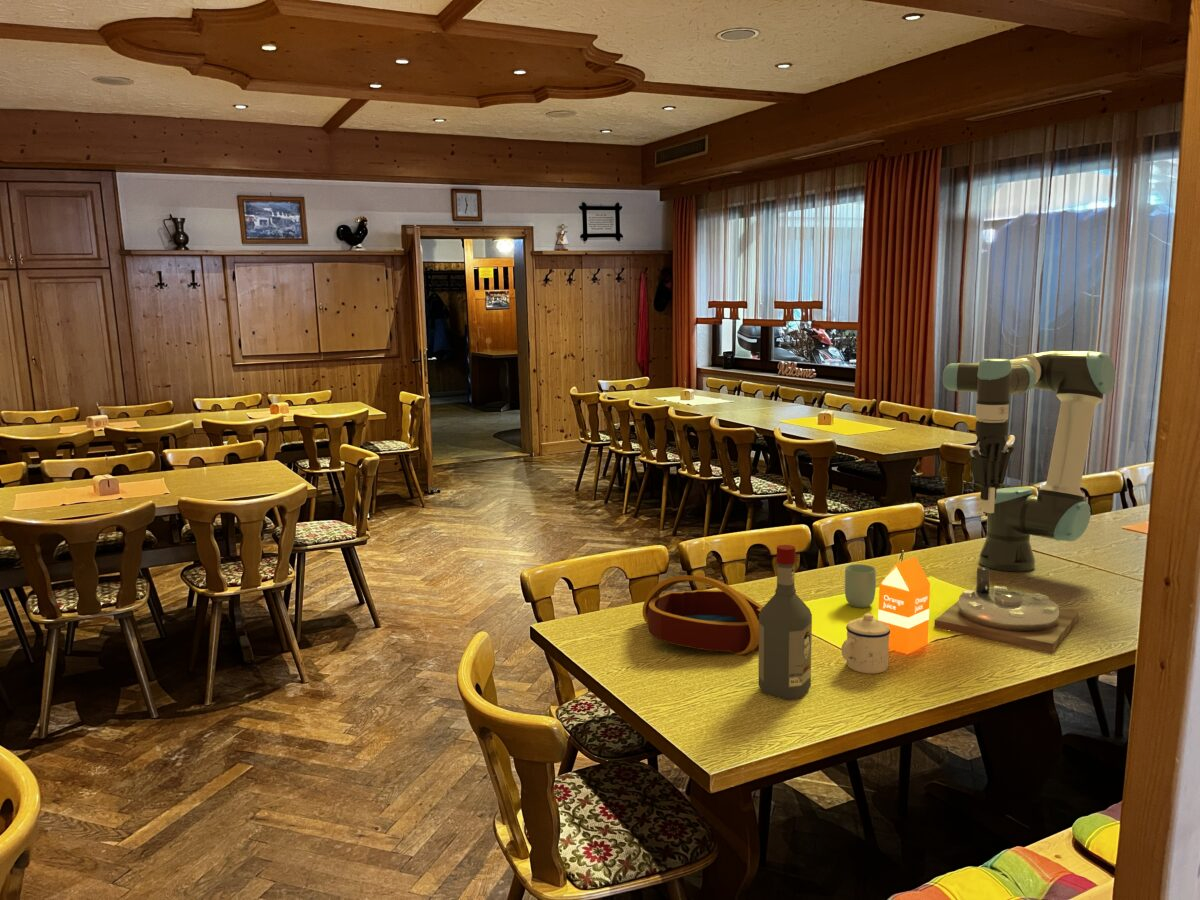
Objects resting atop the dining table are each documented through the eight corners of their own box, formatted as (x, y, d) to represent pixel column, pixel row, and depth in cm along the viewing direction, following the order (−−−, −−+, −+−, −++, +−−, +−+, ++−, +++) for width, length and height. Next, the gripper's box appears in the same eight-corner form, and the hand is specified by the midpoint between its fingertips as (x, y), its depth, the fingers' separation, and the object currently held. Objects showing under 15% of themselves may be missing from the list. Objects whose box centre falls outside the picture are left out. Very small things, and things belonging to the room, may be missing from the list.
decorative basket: (794, 651, 204) (800, 587, 203) (710, 667, 185) (717, 597, 184) (689, 617, 229) (694, 561, 229) (606, 628, 210) (612, 567, 210)
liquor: (754, 693, 176) (755, 549, 171) (772, 677, 184) (773, 539, 179) (797, 703, 171) (799, 555, 166) (814, 686, 178) (816, 544, 174)
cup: (841, 607, 225) (842, 570, 224) (847, 599, 232) (848, 562, 231) (872, 612, 222) (873, 574, 220) (877, 602, 228) (878, 566, 227)
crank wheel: (1080, 624, 203) (1082, 587, 202) (1001, 635, 198) (1003, 597, 196) (1012, 596, 224) (1014, 562, 223) (939, 605, 219) (940, 570, 217)
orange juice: (877, 644, 200) (879, 560, 197) (898, 635, 205) (900, 553, 202) (907, 654, 194) (910, 567, 191) (928, 644, 200) (932, 560, 196)
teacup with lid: (866, 655, 194) (867, 605, 192) (898, 668, 186) (900, 616, 185) (826, 666, 188) (827, 615, 186) (858, 681, 180) (859, 627, 179)
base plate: (968, 599, 229) (968, 591, 229) (1078, 619, 213) (1079, 610, 213) (934, 627, 210) (934, 618, 209) (1052, 652, 193) (1053, 642, 193)
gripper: (982, 423, 213) (978, 517, 217) (1023, 420, 218) (1018, 512, 221) (960, 420, 220) (956, 511, 224) (1000, 417, 225) (996, 506, 228)
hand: (987, 511), depth 222 cm, fingers closed
